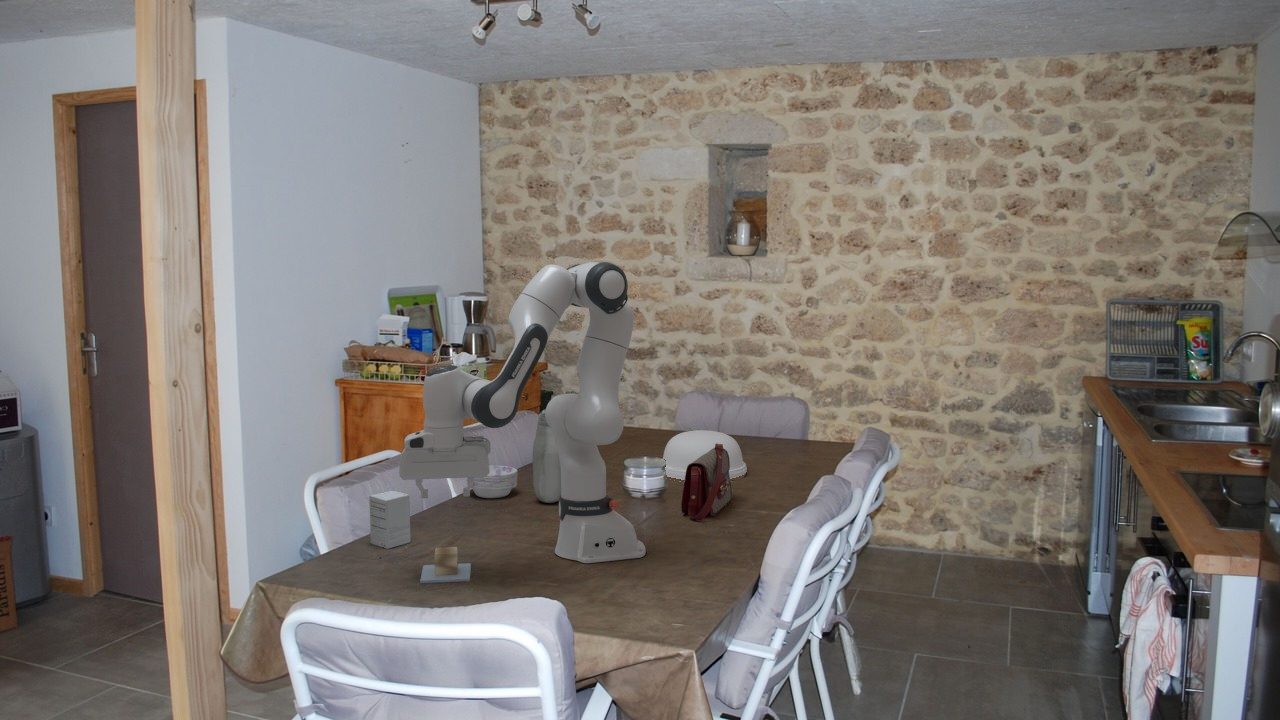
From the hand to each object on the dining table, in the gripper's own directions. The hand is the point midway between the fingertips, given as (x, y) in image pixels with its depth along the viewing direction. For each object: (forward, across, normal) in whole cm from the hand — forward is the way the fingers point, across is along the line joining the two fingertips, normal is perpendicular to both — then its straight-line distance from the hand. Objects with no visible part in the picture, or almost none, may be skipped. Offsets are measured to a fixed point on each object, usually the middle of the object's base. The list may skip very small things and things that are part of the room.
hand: (445, 496), depth 226 cm
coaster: (+18, 0, 0) cm, 18 cm away
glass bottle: (+19, -28, -62) cm, 71 cm away
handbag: (+20, -72, -48) cm, 89 cm away
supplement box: (+18, +15, -26) cm, 36 cm away
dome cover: (+20, -81, -94) cm, 126 cm away
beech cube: (+18, 0, 0) cm, 18 cm away
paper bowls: (+19, -11, -73) cm, 77 cm away
